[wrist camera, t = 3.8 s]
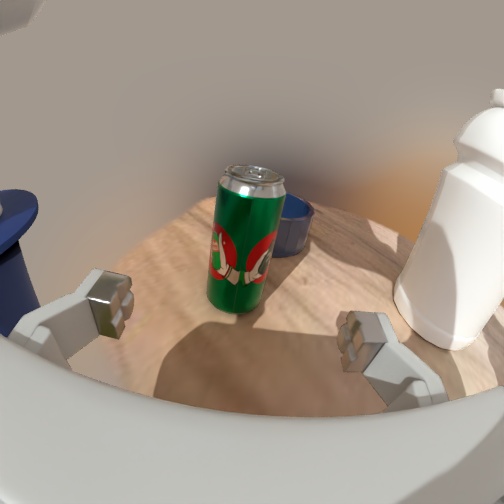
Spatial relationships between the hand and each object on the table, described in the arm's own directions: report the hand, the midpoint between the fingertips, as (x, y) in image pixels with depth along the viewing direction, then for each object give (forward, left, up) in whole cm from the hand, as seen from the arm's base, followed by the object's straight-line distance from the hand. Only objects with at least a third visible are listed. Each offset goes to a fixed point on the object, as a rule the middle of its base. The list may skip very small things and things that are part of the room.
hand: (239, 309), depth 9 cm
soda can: (+3, +12, -11) cm, 16 cm away
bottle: (+28, +8, -10) cm, 30 cm away
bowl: (+9, +25, -10) cm, 28 cm away
